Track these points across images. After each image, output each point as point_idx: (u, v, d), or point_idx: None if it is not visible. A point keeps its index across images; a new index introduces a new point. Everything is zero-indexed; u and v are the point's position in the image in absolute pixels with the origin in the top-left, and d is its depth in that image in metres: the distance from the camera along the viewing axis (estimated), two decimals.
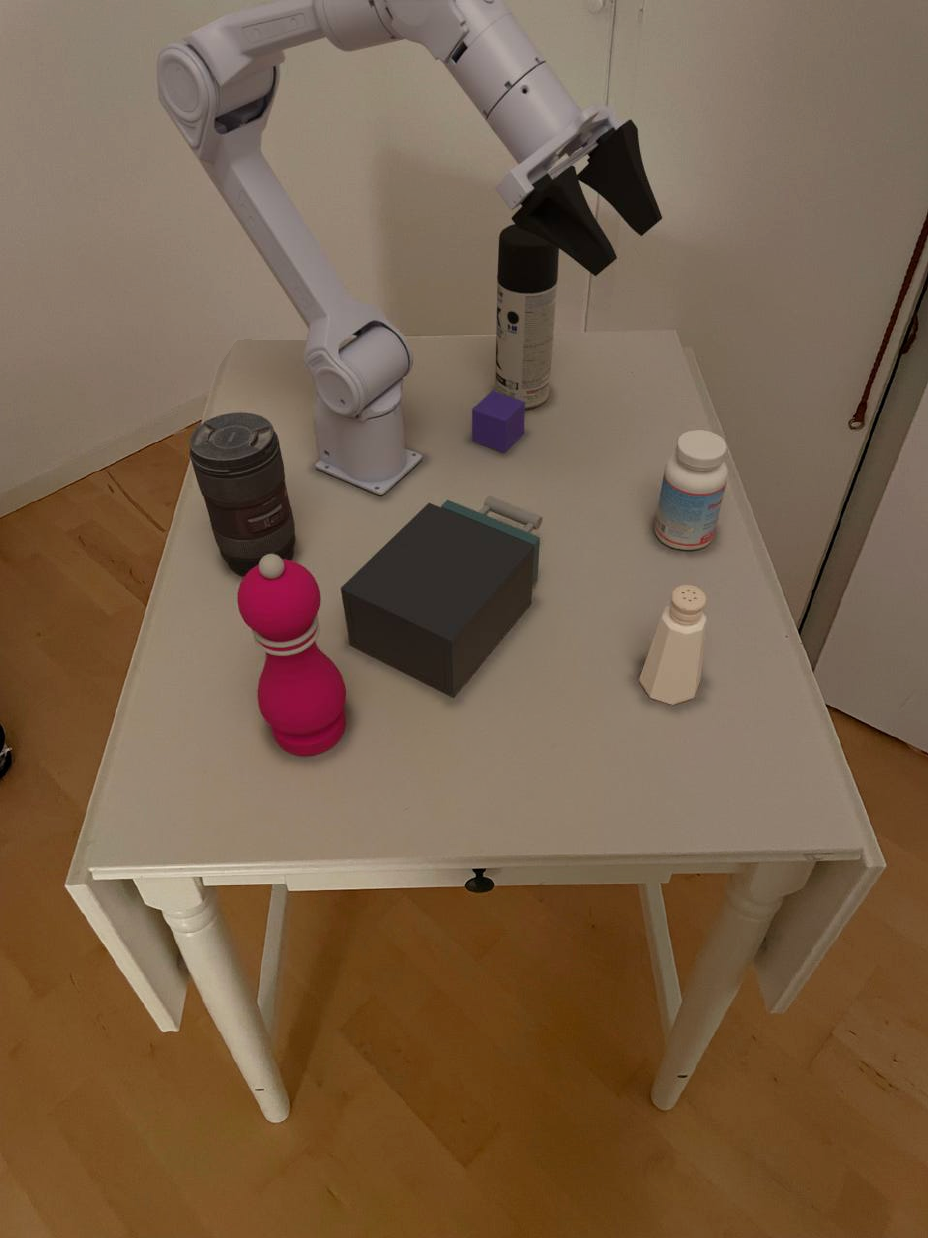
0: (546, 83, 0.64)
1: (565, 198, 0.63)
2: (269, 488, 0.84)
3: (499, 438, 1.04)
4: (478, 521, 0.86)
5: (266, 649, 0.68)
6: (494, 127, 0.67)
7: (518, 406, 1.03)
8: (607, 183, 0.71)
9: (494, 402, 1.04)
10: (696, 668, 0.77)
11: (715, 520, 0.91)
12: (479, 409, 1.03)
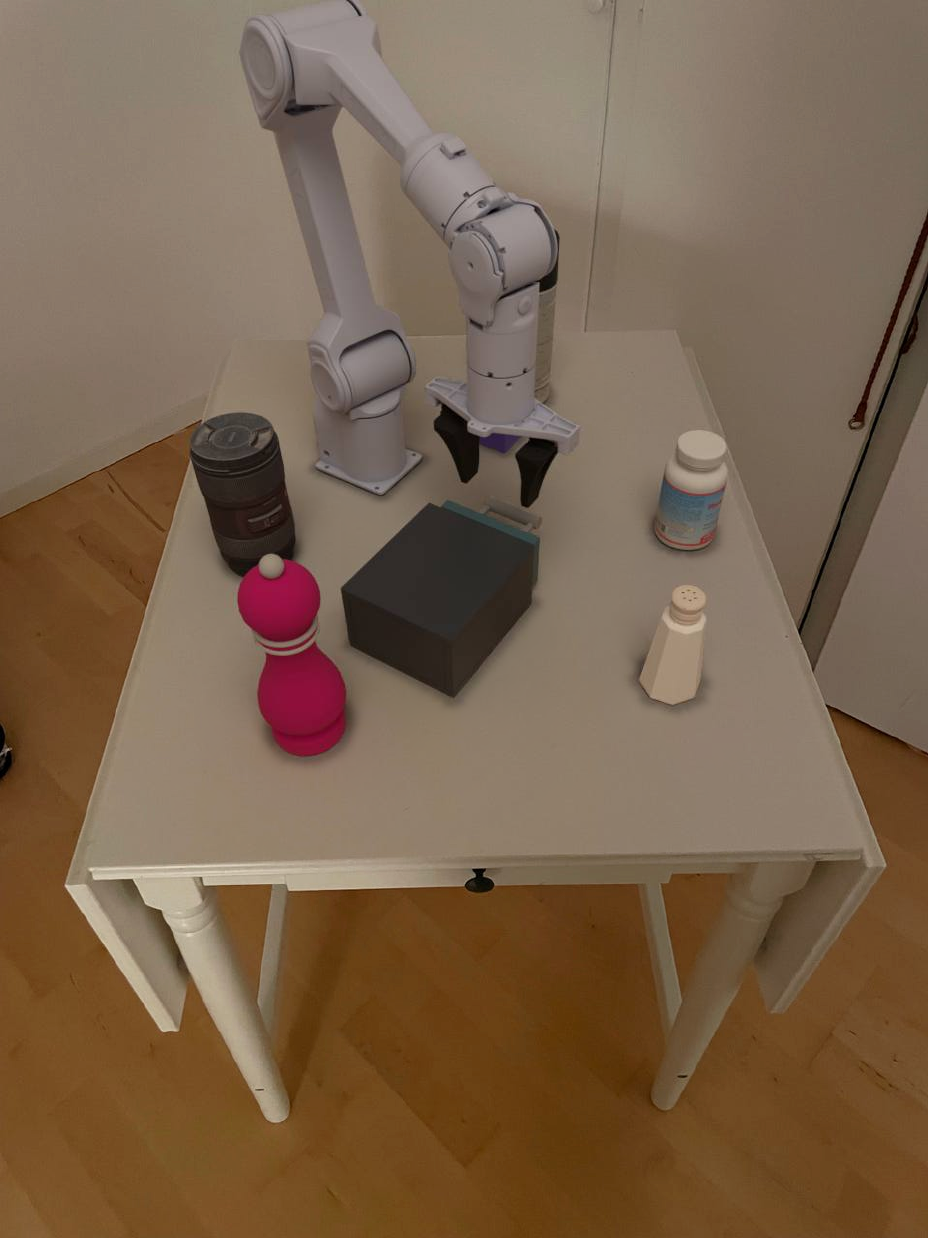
0: (476, 386, 0.75)
1: None
2: (270, 488, 0.84)
3: (499, 438, 1.04)
4: (478, 521, 0.86)
5: (266, 649, 0.68)
6: None
7: None
8: None
9: None
10: (696, 668, 0.77)
11: (715, 520, 0.91)
12: None
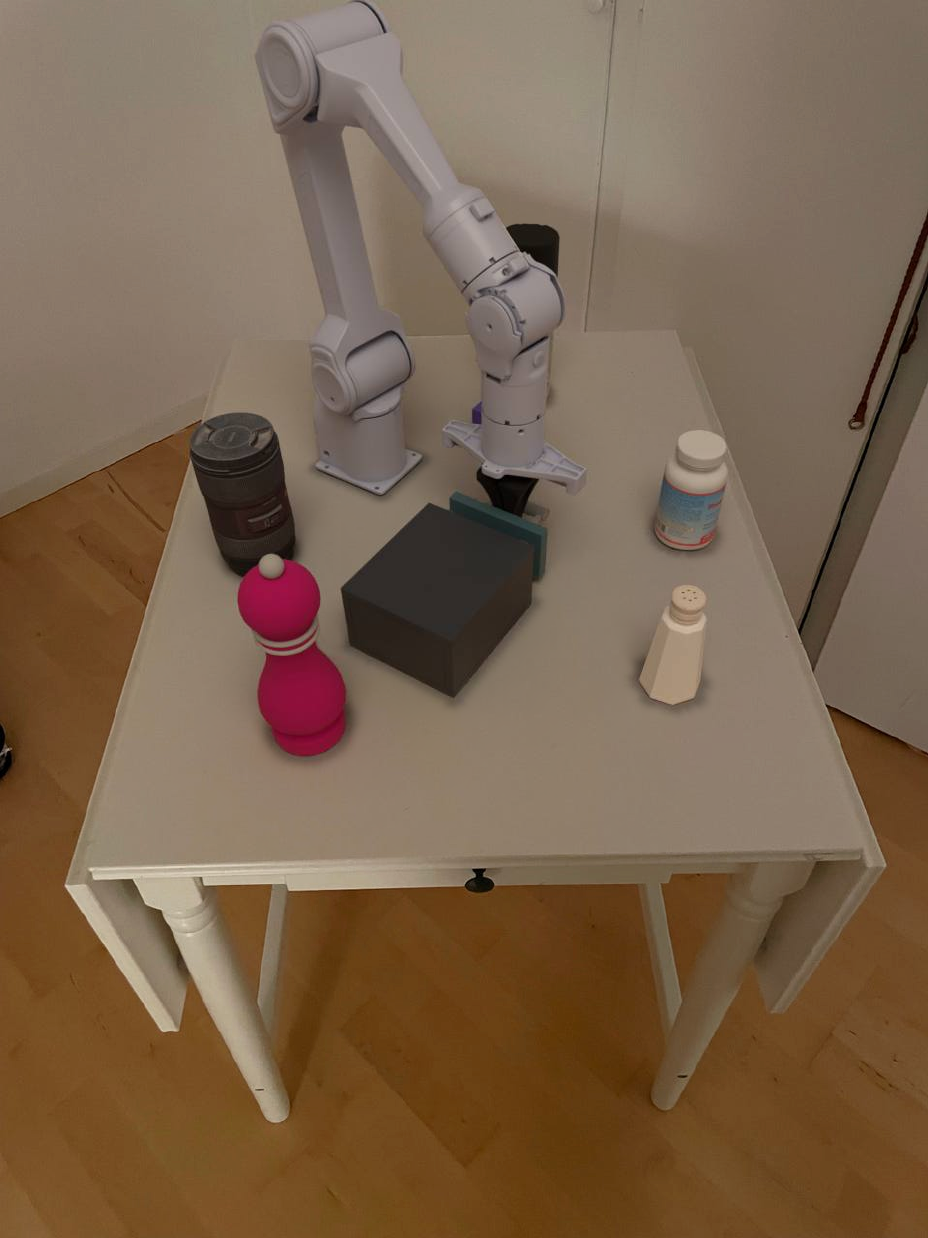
0: (490, 432, 0.81)
1: None
2: (270, 488, 0.84)
3: None
4: (486, 512, 0.87)
5: (266, 649, 0.68)
6: None
7: None
8: None
9: None
10: (696, 668, 0.77)
11: (715, 520, 0.91)
12: (479, 409, 1.03)
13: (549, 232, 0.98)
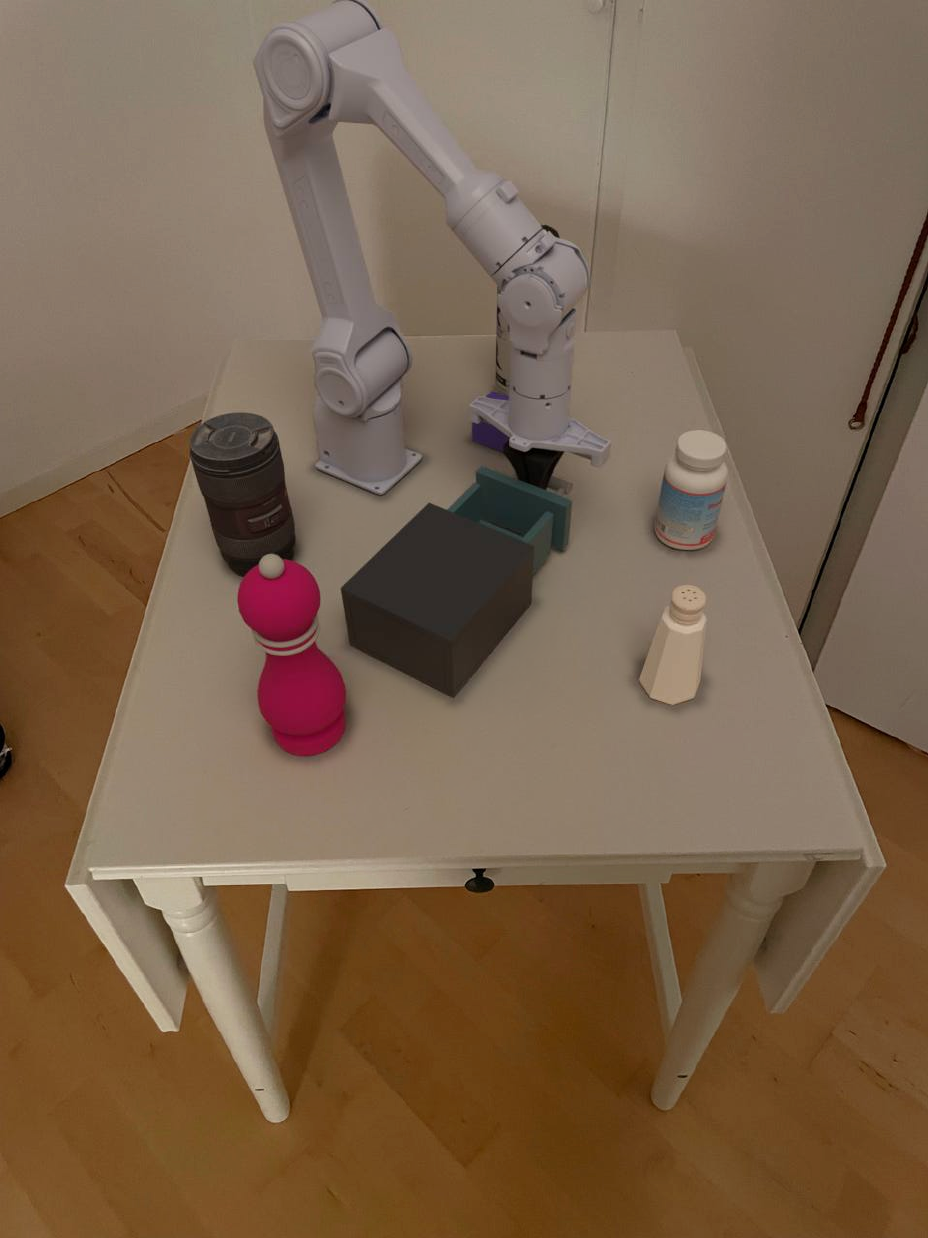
0: (518, 406, 0.83)
1: None
2: (270, 488, 0.84)
3: (499, 438, 1.04)
4: (512, 485, 0.90)
5: (266, 649, 0.68)
6: None
7: None
8: None
9: None
10: (696, 668, 0.77)
11: (715, 520, 0.91)
12: None
13: None
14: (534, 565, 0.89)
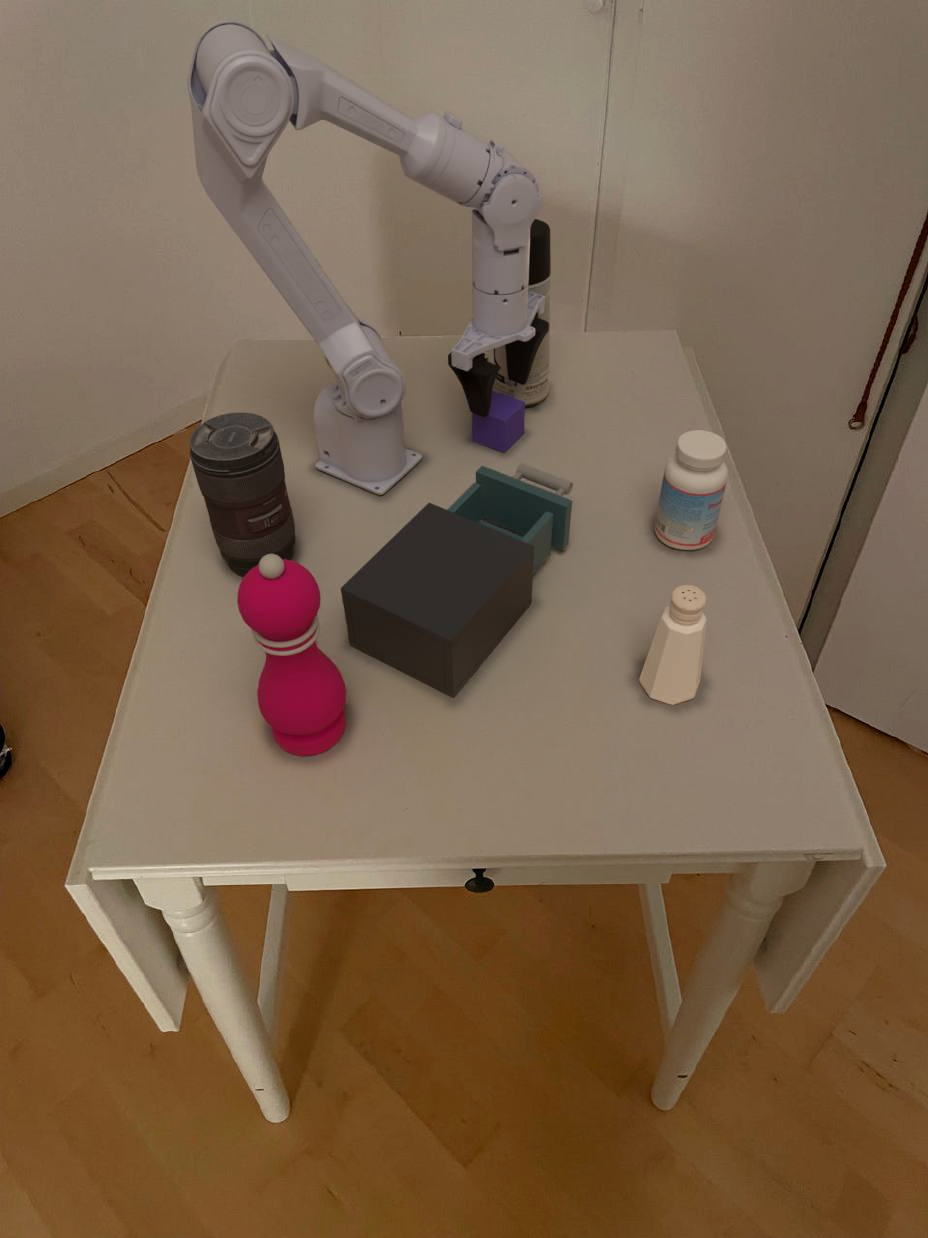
0: (519, 303, 0.92)
1: (484, 383, 0.95)
2: (270, 488, 0.84)
3: (499, 438, 1.04)
4: (512, 485, 0.90)
5: (266, 649, 0.68)
6: (474, 294, 0.92)
7: (518, 406, 1.03)
8: (512, 342, 1.01)
9: (494, 402, 1.04)
10: (696, 668, 0.77)
11: (715, 520, 0.91)
12: None
13: (540, 225, 0.99)
14: (534, 565, 0.89)
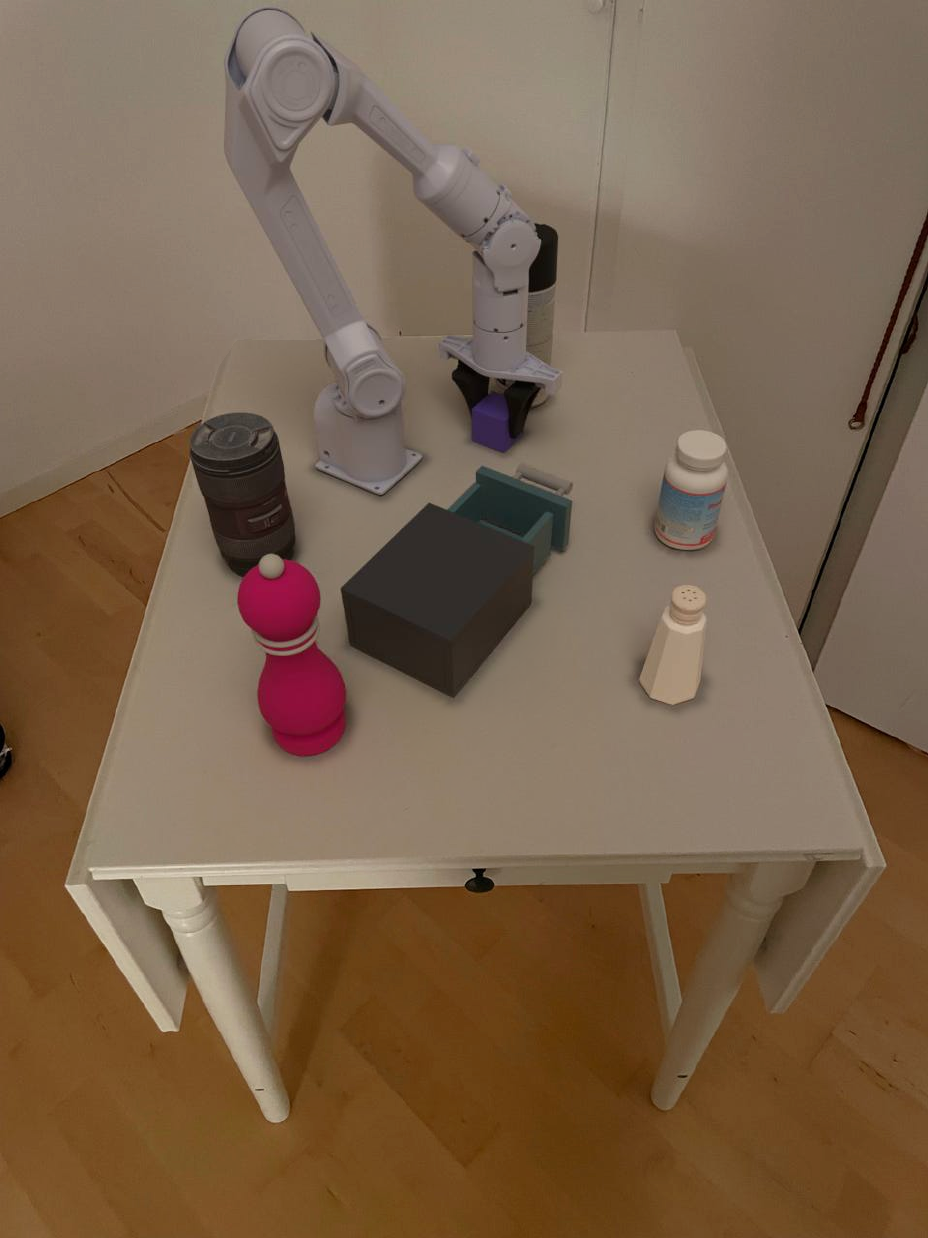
0: None
1: (540, 389, 1.01)
2: (270, 488, 0.84)
3: (499, 438, 1.04)
4: (512, 485, 0.90)
5: (266, 649, 0.68)
6: (511, 338, 0.94)
7: None
8: (477, 389, 1.03)
9: (493, 402, 1.04)
10: (696, 668, 0.77)
11: (715, 520, 0.91)
12: (479, 409, 1.03)
13: (548, 231, 0.98)
14: (534, 565, 0.89)
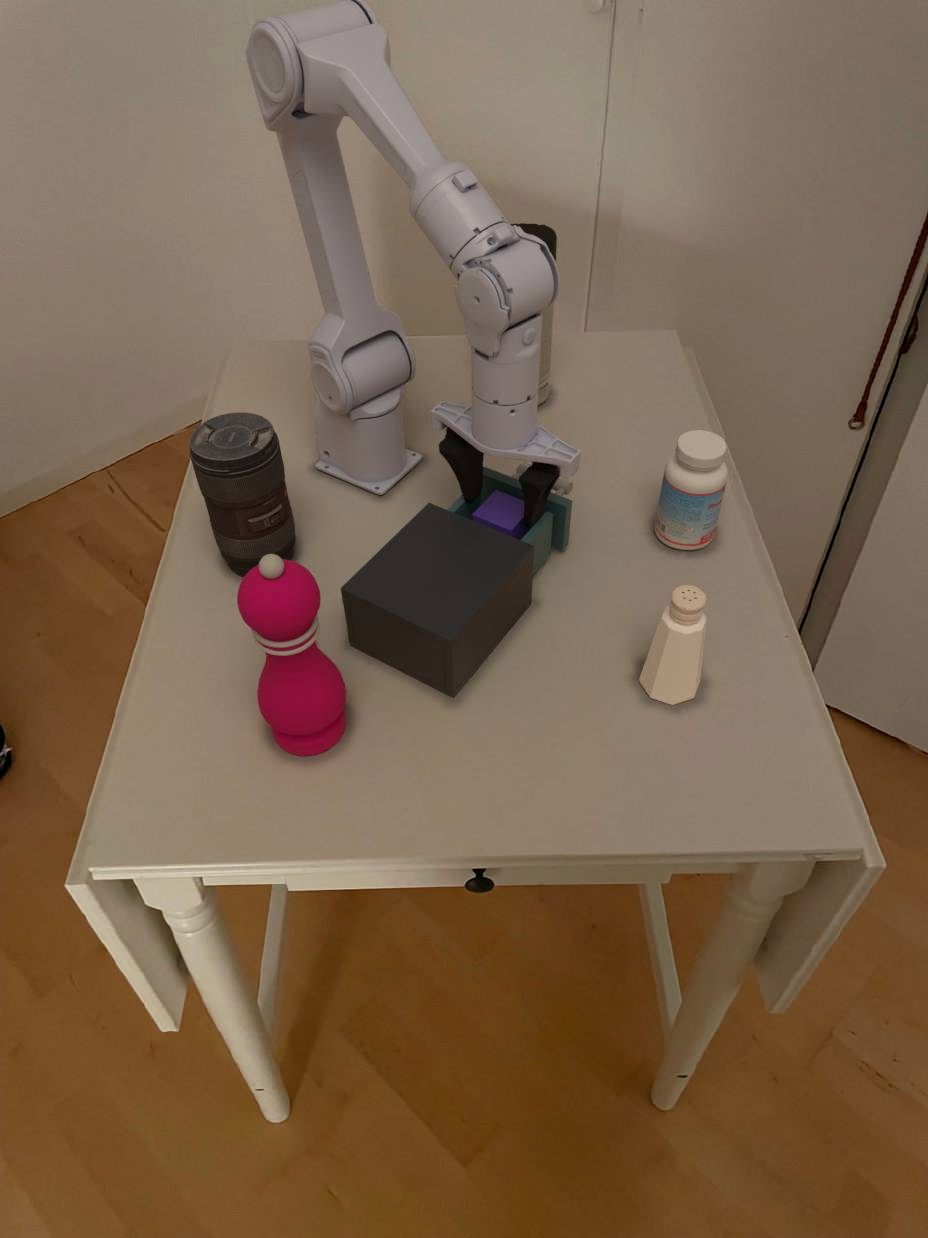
0: None
1: None
2: (270, 488, 0.84)
3: None
4: (512, 485, 0.90)
5: (266, 649, 0.68)
6: (519, 412, 0.77)
7: None
8: (469, 462, 0.85)
9: (498, 506, 0.88)
10: (696, 668, 0.77)
11: (715, 520, 0.91)
12: (480, 514, 0.88)
13: (547, 231, 0.98)
14: (534, 565, 0.89)
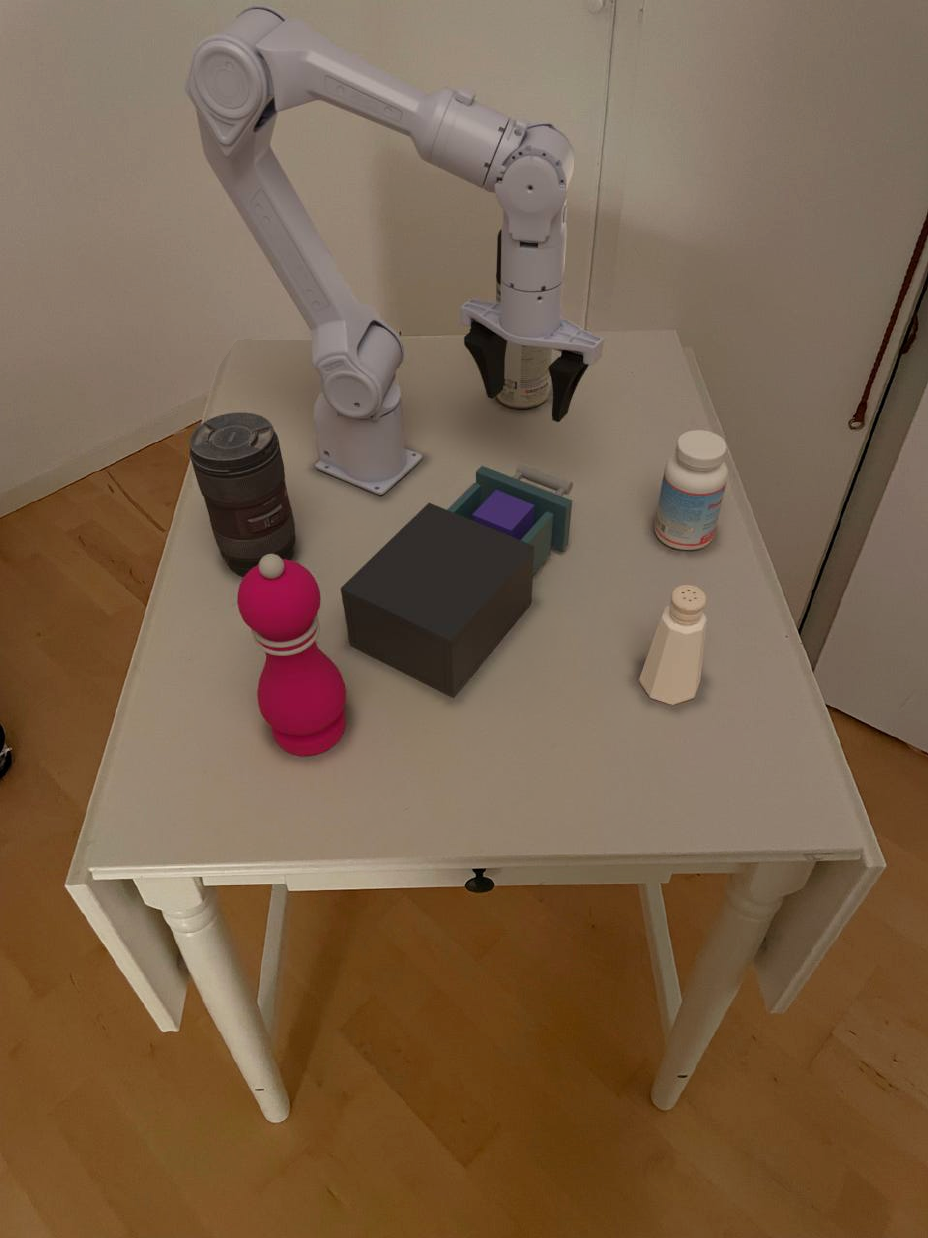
0: None
1: None
2: (270, 488, 0.84)
3: None
4: (512, 485, 0.90)
5: (266, 649, 0.68)
6: (546, 299, 0.82)
7: (527, 510, 0.88)
8: (492, 356, 0.90)
9: (498, 506, 0.88)
10: (696, 668, 0.77)
11: (715, 520, 0.91)
12: (480, 514, 0.88)
13: None
14: (534, 565, 0.89)
